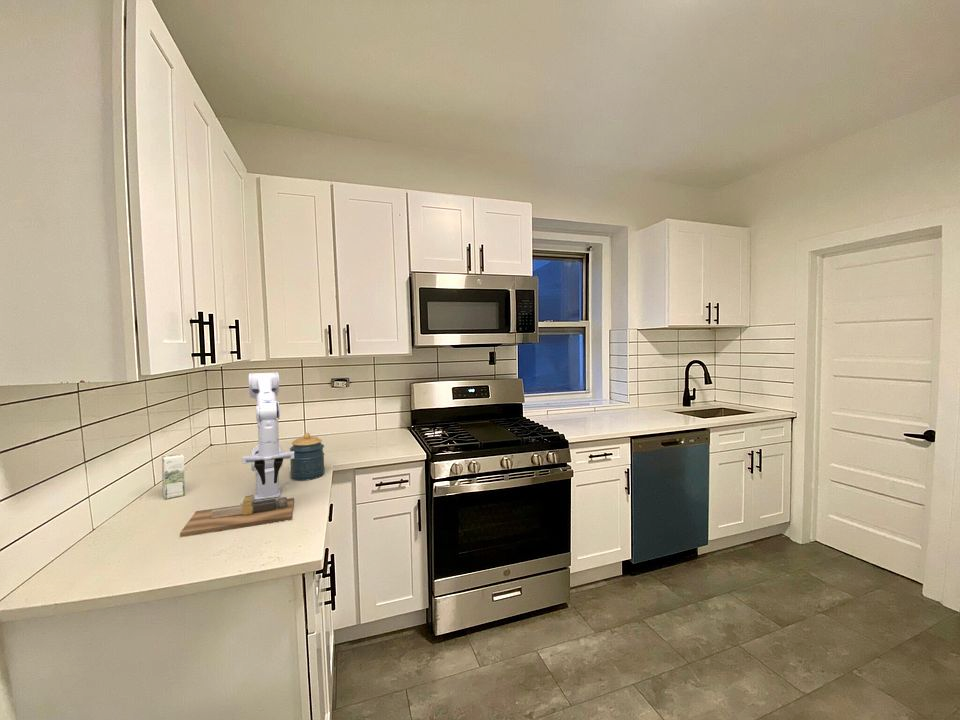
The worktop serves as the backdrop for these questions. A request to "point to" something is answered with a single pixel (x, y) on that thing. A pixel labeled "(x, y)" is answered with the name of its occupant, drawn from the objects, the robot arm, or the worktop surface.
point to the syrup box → (173, 476)
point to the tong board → (238, 518)
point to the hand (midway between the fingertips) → (269, 483)
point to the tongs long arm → (238, 510)
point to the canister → (307, 458)
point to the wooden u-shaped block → (247, 504)
